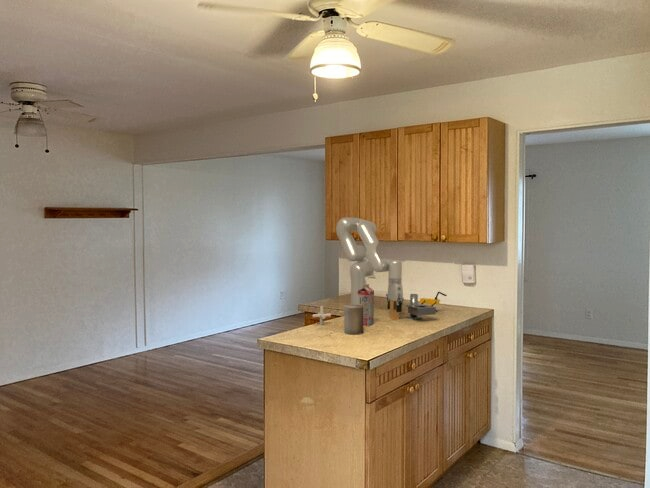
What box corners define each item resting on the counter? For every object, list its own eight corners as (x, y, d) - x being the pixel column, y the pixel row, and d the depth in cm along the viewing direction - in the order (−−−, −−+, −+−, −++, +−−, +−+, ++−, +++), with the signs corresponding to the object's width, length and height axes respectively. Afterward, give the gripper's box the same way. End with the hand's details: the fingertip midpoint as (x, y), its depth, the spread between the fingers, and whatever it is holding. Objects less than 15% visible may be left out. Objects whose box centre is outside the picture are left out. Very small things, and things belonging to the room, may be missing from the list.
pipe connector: (314, 326, 268) (315, 308, 267) (310, 323, 277) (310, 305, 277) (332, 326, 271) (333, 307, 270) (327, 322, 280) (328, 304, 280)
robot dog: (445, 314, 309) (445, 292, 308) (417, 311, 318) (417, 290, 317) (447, 312, 314) (448, 291, 313) (419, 310, 323) (420, 289, 322)
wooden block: (393, 319, 290) (393, 298, 290) (389, 318, 294) (389, 298, 293) (399, 319, 292) (399, 298, 291) (395, 317, 295) (395, 297, 295)
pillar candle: (367, 332, 255) (367, 303, 254) (354, 335, 248) (354, 305, 248) (353, 329, 262) (353, 301, 261) (340, 332, 255) (340, 303, 255)
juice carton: (373, 324, 276) (374, 284, 275) (368, 326, 270) (368, 285, 269) (362, 323, 279) (363, 283, 278) (357, 325, 274) (357, 284, 273)
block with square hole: (417, 322, 282) (418, 297, 281) (400, 317, 298) (400, 293, 297) (435, 321, 286) (435, 296, 286) (417, 315, 303) (417, 292, 302)
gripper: (408, 282, 285) (408, 312, 286) (392, 279, 301) (392, 307, 302) (397, 283, 282) (396, 313, 283) (381, 279, 298) (381, 308, 299)
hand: (394, 310), depth 293 cm, fingers open, 9 cm apart
